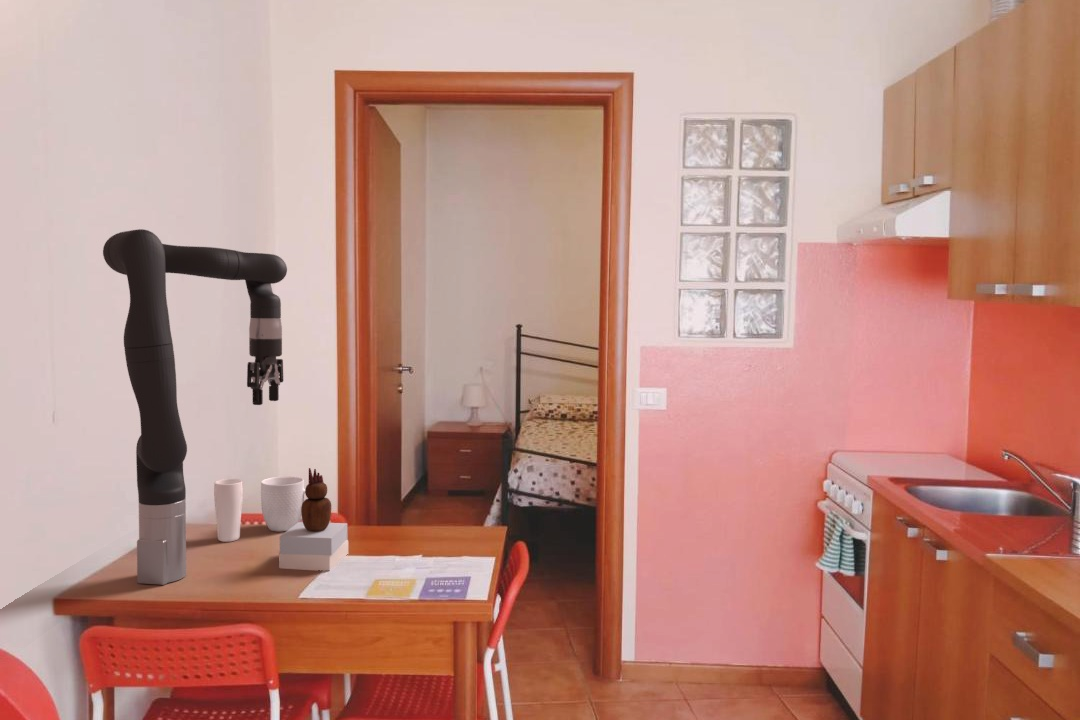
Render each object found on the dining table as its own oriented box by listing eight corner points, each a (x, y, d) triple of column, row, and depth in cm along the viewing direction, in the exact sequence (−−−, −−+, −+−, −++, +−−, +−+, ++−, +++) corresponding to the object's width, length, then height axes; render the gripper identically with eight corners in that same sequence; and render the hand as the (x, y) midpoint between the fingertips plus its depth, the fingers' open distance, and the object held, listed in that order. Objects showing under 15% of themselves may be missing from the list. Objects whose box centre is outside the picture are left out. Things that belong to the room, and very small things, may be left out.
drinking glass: (215, 536, 198) (215, 479, 197) (243, 534, 200) (243, 478, 199) (213, 544, 192) (212, 485, 191) (242, 542, 194) (241, 483, 193)
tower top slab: (331, 555, 174) (331, 538, 174) (279, 553, 175) (279, 536, 175) (347, 539, 186) (347, 523, 186) (298, 537, 187) (298, 521, 187)
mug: (320, 521, 214) (320, 475, 213) (317, 533, 203) (317, 484, 202) (264, 523, 211) (264, 476, 210) (257, 535, 200) (257, 485, 199)
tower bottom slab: (329, 572, 174) (329, 555, 174) (279, 570, 176) (279, 552, 175) (348, 556, 186) (348, 540, 186) (300, 553, 187) (300, 537, 187)
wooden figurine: (305, 534, 176) (304, 470, 175) (298, 528, 181) (298, 465, 180) (334, 530, 180) (334, 467, 179) (327, 524, 185) (327, 463, 183)
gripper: (266, 338, 179) (267, 407, 181) (293, 336, 194) (293, 399, 195) (236, 337, 180) (236, 405, 181) (264, 335, 194) (264, 398, 196)
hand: (265, 402), depth 188 cm, fingers open, 8 cm apart
